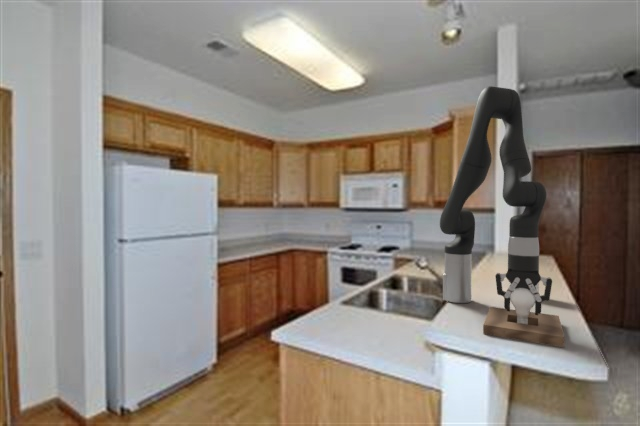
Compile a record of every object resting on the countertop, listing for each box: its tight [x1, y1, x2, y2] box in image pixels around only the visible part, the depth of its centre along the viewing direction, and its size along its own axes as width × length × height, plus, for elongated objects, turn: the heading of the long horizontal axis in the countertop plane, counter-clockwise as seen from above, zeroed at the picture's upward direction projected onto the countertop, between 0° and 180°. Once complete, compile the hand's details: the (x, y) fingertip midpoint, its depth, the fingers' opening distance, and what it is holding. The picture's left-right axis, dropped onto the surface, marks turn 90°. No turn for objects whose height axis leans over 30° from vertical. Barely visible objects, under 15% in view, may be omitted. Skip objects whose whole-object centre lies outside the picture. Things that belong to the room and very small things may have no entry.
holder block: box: [482, 306, 565, 348], centre depth 100 cm, size 18×20×2 cm
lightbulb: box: [509, 288, 536, 324], centre depth 100 cm, size 6×6×11 cm
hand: (522, 312), depth 100 cm, fingers closed on lightbulb, 6 cm apart
